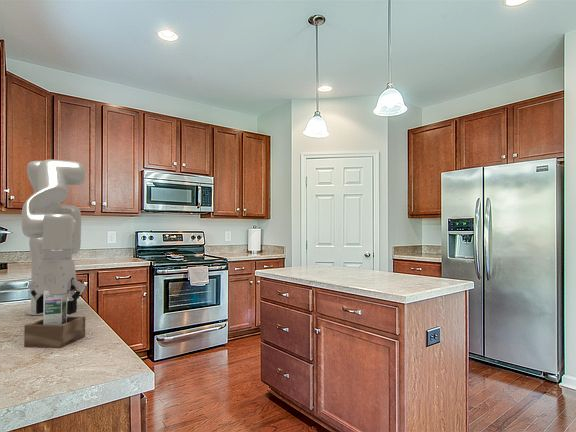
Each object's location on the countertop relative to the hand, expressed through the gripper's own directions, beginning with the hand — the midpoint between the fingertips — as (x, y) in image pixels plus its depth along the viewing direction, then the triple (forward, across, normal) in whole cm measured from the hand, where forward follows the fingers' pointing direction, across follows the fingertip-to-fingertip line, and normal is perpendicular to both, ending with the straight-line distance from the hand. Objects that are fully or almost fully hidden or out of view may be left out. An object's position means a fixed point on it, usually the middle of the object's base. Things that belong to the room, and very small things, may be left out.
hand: (56, 313), depth 110 cm
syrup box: (+7, 0, 0) cm, 8 cm away
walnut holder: (+8, 0, 0) cm, 8 cm away
